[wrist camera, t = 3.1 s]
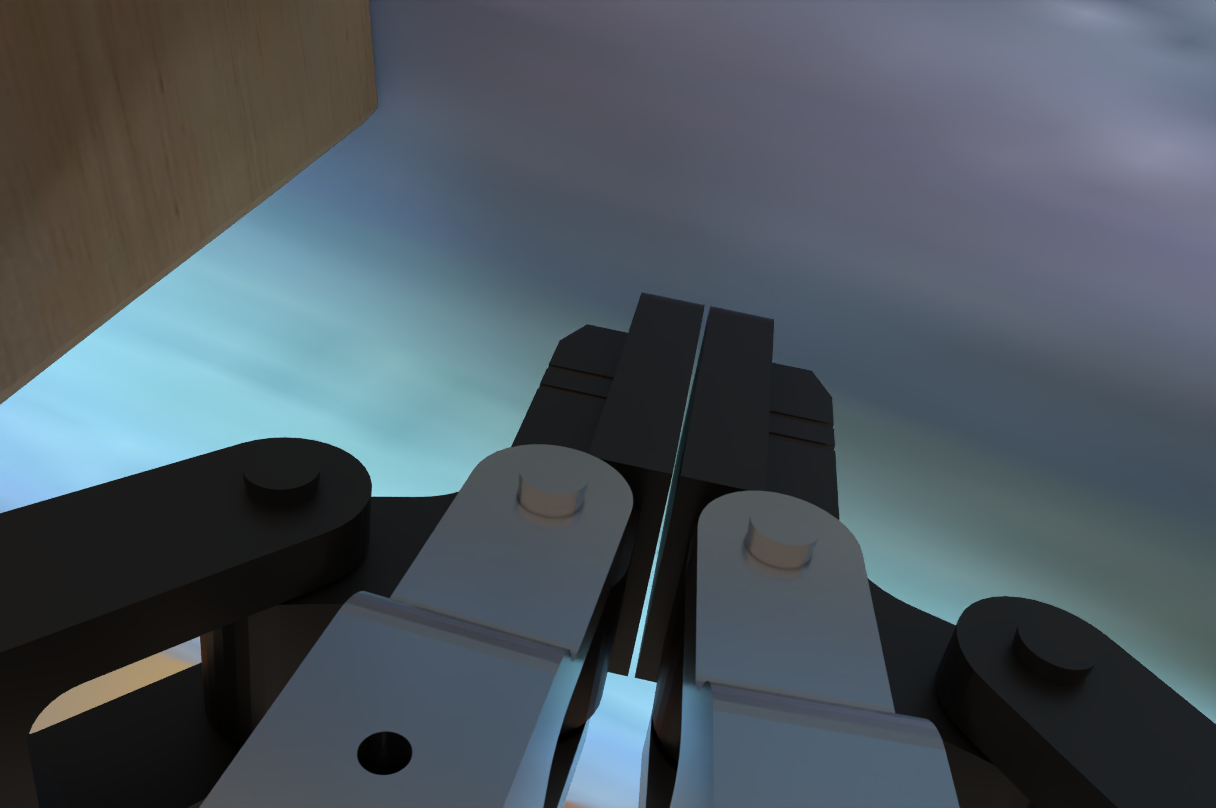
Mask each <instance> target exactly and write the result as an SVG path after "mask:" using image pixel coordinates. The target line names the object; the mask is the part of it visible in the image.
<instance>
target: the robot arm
mask: <svg viewBox="0 0 1216 808" xmlns="http://www.w3.org/2000/svg"><path fill="white" fill-rule="evenodd" d="M704 306H705V305H700V304H695V303H691V302H686V301H681V300H676V299H671V298H666V297H661V296H657V295H652V294H647V293H642V294H641V296H640V299H639V302H638V305H637V308H636V311H635V314H634V317H633V320H632V324H631V327H630V330H629V333H626V332H621V331H616V330H612V329H607V328H602V327H597V326H592V325H588V324H587V325H585V326H584V327H582V328H580V329H579V330H577V331H575V332H574V333H572V334H570V335H568V336H567V337H565V338H563V339H562V340H560V341H559V343H558V346H557V348H556V350H555V352H554V354H553V356H552V359H551V361H550V363H549V367H548V369H547V370H546V372H545V374H544V376H543V378H542V381H541V383H540V387H539V388H538V389H537V392H536V394H535V396H534V398H533V400H532V403H531V405H530V407H529V409H528V411H527V413H526V416H525V418H524V420H523V422H522V424H521V427H520V429H519V431H518V433H517V435H516V438H515V440H514V442H513V444H512V446H511V447H510V448H506V449H503V450H500V451H497V452H495V453H493V454H491V455H489V456H488V457H486V458H485V459H484V460H482V461H481V462H480V463H479V464H478V465H477V466H476V467H475V469H474V470H473V471H472V473H471V474H470V476H469V477H468V479H467V480H466V482H465V484H464V485H463V487H462V488H461V490H460V491H459V492H456V493H452V494H447V495H440V496H432V497H371V492H372V483H371V479H370V475H369V474H368V472H367V470H366V468H365V467H364V466H363V465H362V463H361V462H360V461H359V460H358V459H356V458H355V457H354V456H352V455H351V454H349V453H348V452H346V451H344V450H342V449H340V448H338V447H335V446H332V445H330V444H327V443H323V442H319V441H315V440H309V439H302V438H286V437H284V438H267V439H260V440H254V441H249V442H245V443H241V444H238V445H234V446H231V447H227V448H224V449H220V450H217V451H213V452H210V453H207V454H203V455H200V456H196V457H193V458H189V459H186V460H182V461H179V462H176V463H172V464H169V465H165V466H162V467H158V468H155V469H151V470H148V471H145V472H141V473H138V474H134V475H131V476H127V477H124V478H120V479H117V480H114V481H110V482H107V483H103V484H100V485H96V486H93V487H89V488H86V489H83V490H79V491H76V492H72V493H69V494H65V495H62V496H58V497H55V498H52V499H48V500H45V501H41V502H38V503H34V504H31V505H27V506H24V507H21V508H17V509H14V510H10V511H7V512H3V513H0V808H563V806H564V803H565V800H566V797H567V794H568V791H569V788H570V785H571V782H572V779H573V776H574V773H575V770H576V767H577V764H578V761H579V758H580V755H581V752H582V749H583V746H584V743H585V739H586V735H587V730H588V725H589V720H590V717H591V716H592V715H593V714H594V712H595V711H596V709H597V708H598V706H599V704H600V701H601V698H602V694H603V689H604V685H605V681H606V676H607V672H611V673H615V674H620V675H624V676H628V673H629V668H630V664H631V659H632V655H633V650H634V646H635V641H636V637H637V632H638V628H639V623H640V619H641V614H642V609H643V605H644V600H645V596H646V591H647V587H648V582H649V578H650V573H651V569H652V564H653V560H654V555H655V551H656V546H657V542H658V537H659V533H660V528H661V524H662V519H663V515H664V510H665V505H666V501H667V496H668V492H669V487H670V483H671V478H672V474H673V469H674V463H675V458H676V453H677V448H678V442H679V437H680V432H681V427H682V421H683V416H684V411H685V406H686V401H687V395H688V390H689V385H690V380H691V374H692V369H693V364H694V359H695V354H696V348H697V343H698V338H699V333H700V327H701V322H702V317H703V312H704ZM773 332H774V319H769V318H764V317H760V316H755V315H750V314H745V313H740V312H735V311H730V310H725V309H721V308H716V307H711V306H710V310H709V314H708V318H707V322H706V327H705V331H704V336H703V340H702V345H701V349H700V354H699V358H698V363H697V367H696V372H695V376H694V381H693V385H692V390H691V394H690V399H689V404H688V408H687V413H686V417H685V422H684V426H683V431H682V435H681V440H680V445H679V449H678V454H677V459H676V464H675V469H674V474H673V479H672V484H671V489H670V494H669V500H668V505H667V510H666V516H665V521H664V526H663V531H662V537H661V542H660V547H659V552H658V558H657V563H656V568H655V574H654V579H653V584H652V589H651V595H650V600H649V605H648V610H647V616H646V621H645V626H644V632H643V637H642V642H641V647H640V653H639V658H638V663H637V668H636V674H635V678H639V679H643V680H648V681H652V682H657V686H656V692H655V698H654V704H653V709H652V714H651V718H650V722H649V726H648V730H647V734H646V738H645V742H644V747H643V752H642V764H641V778H640V792H639V807H638V808H1216V724H1215V723H1213V722H1212V721H1211V720H1210V719H1208V718H1207V717H1206V716H1205V715H1204V714H1202V713H1201V712H1200V711H1199V710H1197V709H1196V708H1195V707H1194V706H1192V705H1191V704H1190V703H1189V702H1188V701H1186V700H1185V699H1184V698H1183V697H1181V696H1180V695H1179V694H1178V693H1176V692H1175V691H1174V690H1173V689H1172V688H1170V687H1169V686H1168V685H1167V684H1165V683H1164V682H1163V681H1162V680H1160V679H1159V678H1158V677H1157V676H1156V675H1154V674H1153V673H1152V672H1151V671H1149V670H1148V669H1147V668H1146V667H1144V666H1143V665H1142V664H1141V663H1140V662H1138V661H1137V660H1136V659H1135V658H1133V657H1132V656H1131V655H1130V654H1128V653H1127V652H1126V651H1125V650H1124V649H1122V648H1121V647H1120V646H1119V645H1117V644H1116V643H1115V642H1114V641H1112V640H1111V639H1110V638H1109V637H1108V636H1106V635H1105V634H1103V633H1102V632H1101V631H1099V630H1098V629H1097V628H1095V627H1094V626H1092V625H1091V624H1089V623H1087V622H1086V621H1084V620H1082V619H1081V618H1079V617H1077V616H1075V615H1073V614H1071V613H1069V612H1067V611H1065V610H1062V609H1060V608H1057V607H1055V606H1052V605H1049V604H1046V603H1043V602H1039V601H1036V600H1031V599H1026V598H1020V597H1008V596H1003V597H991V598H986V599H982V600H980V601H977V602H975V603H973V604H971V605H970V606H969V607H967V608H966V609H965V610H964V611H963V613H962V614H961V616H960V617H959V620H958V622H957V624H956V625H953V624H951V623H949V622H947V621H944V620H942V619H940V618H938V617H935V616H933V615H931V614H929V613H926V612H924V611H922V610H919V609H917V608H915V607H913V606H911V605H909V604H907V603H905V602H903V601H901V600H899V599H897V598H895V597H893V596H892V595H890V594H889V593H887V592H885V591H884V590H882V589H881V588H880V587H878V586H877V585H876V584H874V583H873V582H872V581H870V580H869V579H868V578H867V574H866V569H865V564H864V559H863V554H862V551H861V548H860V545H859V544H858V542H857V540H856V539H855V537H854V535H853V534H852V533H851V532H850V531H849V530H848V528H847V527H846V526H845V525H843V524H842V523H841V522H840V521H839V507H838V490H837V474H836V457H835V451H834V447H835V440H834V429H833V424H834V423H833V406H832V397H831V396H830V394H829V393H828V392H827V390H826V389H825V388H824V386H823V385H822V384H821V382H820V381H819V380H818V378H817V377H816V376H815V375H814V373H813V372H812V371H809V370H805V369H800V368H795V367H790V366H785V365H781V364H776V363H772V353H773ZM199 636H200V643H201V659H202V663H199V664H197V665H194V666H192V667H190V668H187V669H185V670H183V671H180V672H178V673H176V674H173V675H171V676H168V677H166V678H164V679H161V680H159V681H157V682H154V683H152V684H149V685H147V686H145V687H142V688H140V689H137V690H135V691H133V692H130V693H128V694H126V695H123V696H121V697H119V698H116V699H114V700H111V701H109V702H107V703H104V704H102V705H99V706H97V707H95V708H92V709H90V710H88V711H85V712H83V713H80V714H78V715H76V716H74V717H71V718H69V719H66V720H64V721H61V722H59V723H57V724H54V725H52V726H50V727H47V728H45V729H42V730H40V731H38V732H35V733H32V734H29V732H30V730H31V727H32V725H33V723H34V722H35V720H36V718H37V717H38V715H39V714H40V713H41V712H42V711H43V710H44V708H46V707H47V706H48V705H49V704H50V703H51V702H52V701H53V700H55V699H56V698H57V697H58V696H60V695H61V694H63V693H65V692H66V691H68V690H70V689H71V688H73V687H76V686H78V685H80V684H82V683H85V682H87V681H90V680H92V679H95V678H97V677H100V676H102V675H105V674H107V673H109V672H112V671H115V670H117V669H119V668H122V667H124V666H127V665H129V664H132V663H134V662H137V661H139V660H142V659H144V658H147V657H149V656H152V655H154V654H157V653H159V652H162V651H164V650H167V649H169V648H172V647H174V646H177V645H179V644H181V643H184V642H186V641H189V640H191V639H194V638H196V637H199Z"/></svg>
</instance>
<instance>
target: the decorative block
mask: <svg viewBox="0 0 1216 808" xmlns="http://www.w3.org/2000/svg"><path fill="white" fill-rule="evenodd" d="M377 108H378V98H377V87H376V76H375V65H374V53H373V42H372V31H371V20H370V8H369V0H0V404H1V403H3V402H4V401H5V400H7V399H8V398H9V397H10V396H12V395H13V394H14V393H16V392H17V391H18V390H19V389H21V388H22V387H23V386H25V385H26V384H27V383H28V382H30V381H31V380H32V379H34V378H35V377H36V376H37V375H39V374H40V373H41V372H42V371H44V370H45V369H46V368H48V367H49V366H50V365H51V364H53V363H54V362H55V361H57V360H58V359H59V358H60V357H62V356H63V355H64V354H66V353H67V352H68V351H69V350H71V349H72V348H73V347H75V346H76V345H77V344H78V343H80V342H81V341H82V340H84V339H85V338H86V337H87V336H89V335H90V334H91V333H92V332H94V331H95V330H96V329H98V328H99V327H100V326H101V325H103V324H104V323H105V322H107V321H108V320H109V319H110V318H112V317H113V316H114V315H116V314H117V313H118V312H119V311H121V310H122V309H123V308H125V307H126V306H127V305H128V304H130V303H131V302H132V301H134V300H135V299H136V298H138V297H139V296H140V295H141V294H143V293H144V292H145V291H147V290H148V289H149V288H151V287H152V286H153V285H154V284H156V283H157V282H158V281H160V280H161V279H162V278H164V277H165V276H166V275H168V274H169V273H170V272H171V271H173V270H174V269H175V268H177V267H178V266H179V265H181V264H182V263H183V262H185V261H186V260H187V259H188V258H190V257H191V256H192V255H194V254H195V253H196V252H198V251H199V250H200V249H202V248H203V247H204V246H205V245H207V244H208V243H209V242H211V241H212V240H213V239H215V238H216V237H217V236H219V235H220V234H221V233H222V232H224V231H225V230H226V229H228V228H229V227H230V226H232V225H233V224H234V223H235V222H237V221H238V220H239V219H241V218H242V217H243V216H245V215H246V214H247V213H249V212H250V211H251V210H252V209H254V208H255V207H256V206H258V205H259V204H260V203H262V202H263V201H264V200H266V199H267V198H268V197H269V196H271V195H272V194H273V193H274V192H276V191H277V190H278V189H280V188H281V187H282V186H283V185H285V184H286V183H287V182H289V181H290V180H291V179H292V178H294V177H295V176H296V175H297V174H299V173H300V172H301V171H303V170H304V169H305V168H306V167H308V166H309V165H310V164H312V163H313V162H314V161H315V160H317V159H318V158H319V157H320V156H322V155H323V154H324V153H326V152H327V151H328V150H329V149H331V148H332V147H333V146H335V145H336V144H337V143H338V142H340V141H341V140H342V139H343V138H345V137H346V136H347V135H349V134H350V133H351V132H352V131H354V130H355V129H356V128H358V127H359V126H360V125H361V124H363V123H364V122H365V121H366V120H367V119H368V117H369V116H370V115H371V114H372V113H373V112H374V111H375V110H376V109H377Z"/></svg>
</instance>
